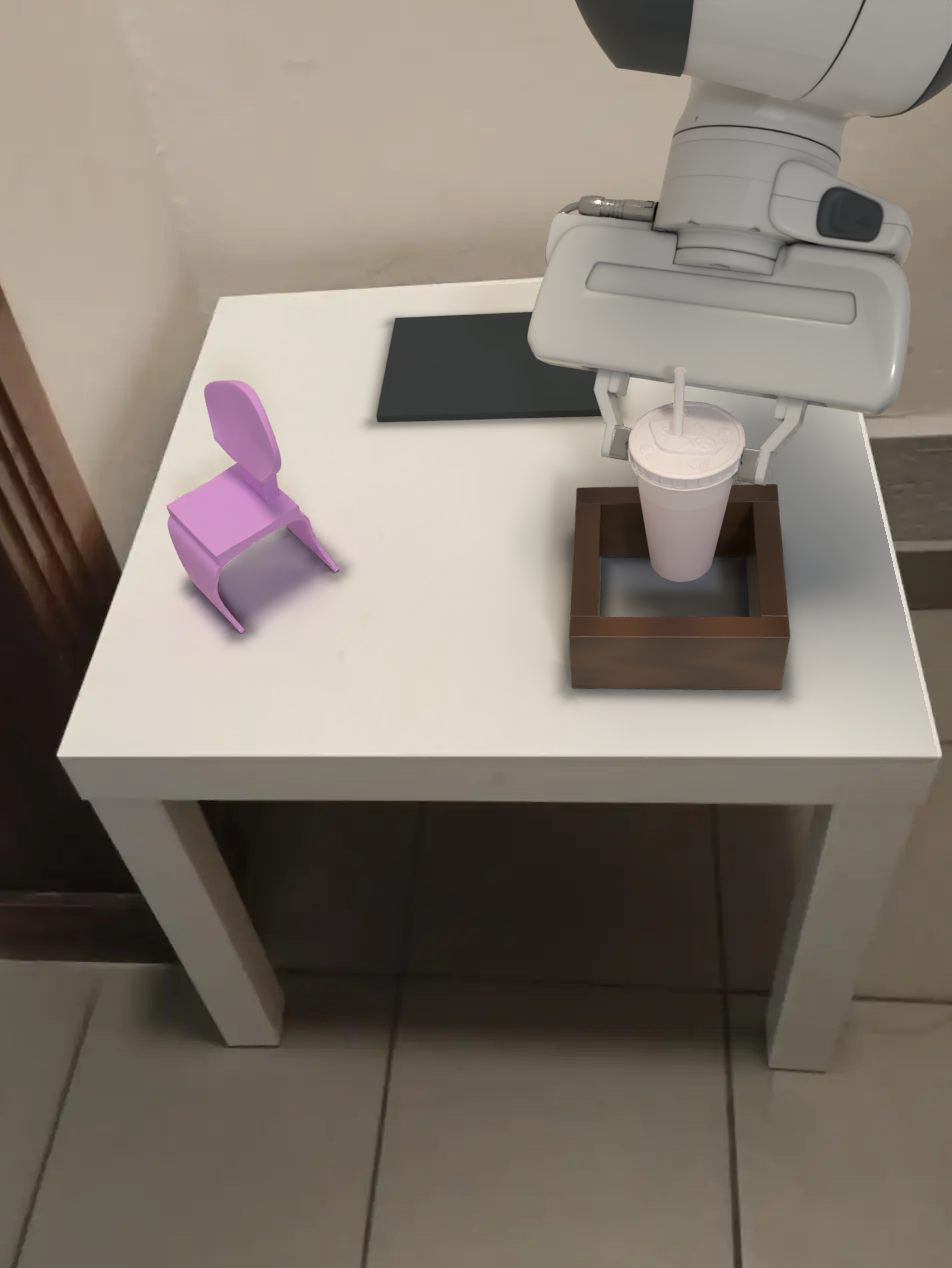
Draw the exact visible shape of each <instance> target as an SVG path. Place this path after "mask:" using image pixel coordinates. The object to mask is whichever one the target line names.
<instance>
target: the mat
mask: <svg viewBox="0 0 952 1268" xmlns="http://www.w3.org/2000/svg"><path fill="white" fill-rule="evenodd" d="M532 313H533V311H517V312H515V311H513V312H496V313H495V312H493V313H471V314H449V315H428V316H427V315H426V316H406V317H405V316H404V317H394V321H393V327H392V333H391V338H390V343H389V348H388V354H387V358H386V364H385V369H384V375H383V380H382V385H381V390H380V393H379V394H380V395H379V400H378V405H377V411H376V416H375V417H376V421H377V422H378V423H379V422H413V421H414V422H415V421H445V420H452V421H453V420H478V419H479V420H483V419H485V420H486V419H515V418H516V419H517V418H550V417H553V418H555V417H583V416H585V417H586V416H602V414H601V411H600V408H599V405H598V402H597V398H596V395H595V392H594V386H595V381H596V376H597V372H594V371H587V370H581V369H574V368H568V367H561V366H555V365H550V364H547V363H545V362H543V361H541V360H539V359H537V358H536V357H535V355H534V353H533V352H532V350H531V348H530V345H529V343H528V339H527V336H528V330H529V325H530V321H531V317H532Z"/></svg>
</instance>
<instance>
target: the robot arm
mask: <svg viewBox="0 0 952 1268" xmlns="http://www.w3.org/2000/svg"><path fill="white" fill-rule="evenodd" d="M574 2H575V4H576V7H577V9H578V10H579V13H580V15H581V18H582V19H583V21H584V23H585V25H586V27H587V28H588V30H589V32H590V33H591V35H592V37H593V38H594V40H595V41H596V43H597V44H598V46H599V48H600V49H601V50H602V51H603V53H604V55H606V57H607V58H608V60H609V61H610V62H611V63H612V65H613V66H614V67H615V68H616V69H620V70H626V71H627V70H629V71H635V72H642V73H649V74H658V75H663V76H669V77H677V78H681V76H682V75H685V76H689V77H690V86H689V87H690V88H689V93H688V97H687V101H686V104H685V106H684V109H683V111H682V113H681V115H680V117H679V119H678V121H677V122H676V125H675V127H674V130H673V134H672V138H671V142H670V146H669V152H668V156H667V161H666V165H665V170H664V175H663V180H662V184H661V189H660V194H659V199H658V201H654V200H644V199H643V200H641V199H632V198H631V199H630V198H627V199H625V198H623V199H615V198H613V199H612V198H606V196H601V195H594V194H593V195H592V194H591V195H582V196H581V197H580V198H579V200H578V201H575V202H572V203H569V204H567V205H566V206H564V207H563V208H561V209H560V210H559V211H558V212H557V213H556V214H555V215H554V216H553V218H552V220H551V222H550V226H549V230H548V235H547V240H546V245H545V250H544V251H545V252H544V259H545V260H544V261H545V264H546V269H545V272H544V275H543V277H542V281H541V283H540V287H539V289H538V293H537V296H536V299H535V303H534V306H533V310H532V312H533V313H532V317H531V321H530V325H529V330H528V336H527V339H528V343H529V345H530V348H531V350H532V352H533V353H534V355H535V357H536V358H537V359H539V360H541V361H543V362H545V363H547V364H550V365H555V366H561V367H568V368H574V369H581V370H587V371H594V372H597V376H596V381H595V386H594V392H595V395H596V398H597V402H598V405H599V408H600V411H601V414H602V415H601V417H602V420H603V424H605V429H604V434H603V439H602V444H601V449H600V456H601V457H602V458H603V457H604V458H606V459H607V458H608V459H614V460H618V461H625V462H629V460H628V447H629V435H630V432H631V430H632V428H631V427H625V423H624V420H623V417H622V414H621V410H620V406H619V403H618V399H617V396H618V397H622V398H623V397H625V396H627V393H628V392H627V391H628V388H629V384H630V379H631V378H634V379H640V380H645V381H653V382H658V383H659V382H660V383H666V384H671V385H674V379H675V369H677V368H680V367H681V368H684V369H685V370H686V372H685V387H691V388H692V387H693V388H698V389H705V390H711V391H718V392H723V393H724V392H725V393H731V394H736V395H743V396H744V395H745V396H749V397H756V398H763V399H769V400H775V401H776V403H775V405H774V409H773V415H772V417H773V418H774V419H775V420H776V421H777V422H779V423H780V424H779V425H778V426H777V427H776V428H775V429H774V431H773V432H772V433H771V434H770V436H768V438H766V440H765V441H764V442H763V443H762V444H761V446H759V448H758V449H756V448H751V447H750V448H749V447H745V448H743V452H742V456H741V461H742V465H741V466H740V467H739V469H738V471H737V474H736V481H738V482H742V483H747V484H757V485H763V486H766V484H768V480H769V477H770V474H771V470H772V465H773V460H774V456H775V454H776V455H777V454H778V453H779V452H780V451H781V450H782V449H783V448H784V447H785V445H786V444H788V443H789V441H790V440H792V438H793V437H794V436H795V435H796V433H797V432H798V431H799V430H800V429H802V427H803V425H804V420H805V417H806V413H807V412H806V411H807V408H808V406H815V407H820V408H827V409H833V410H834V409H835V410H840V411H846V412H847V411H848V412H853V413H859V414H865V415H866V414H867V415H871V416H872V415H874V416H877V415H881V414H883V413H884V412H886V411H887V410H888V409H890V408H891V407H892V406H894V405H895V404H896V402H897V401H898V400H899V396H900V390H901V387H902V383H903V377H904V374H905V368H906V360H907V354H908V347H909V339H910V338H909V337H910V325H911V309H912V308H911V307H912V306H911V304H912V303H911V302H912V301H911V294H910V293H911V292H910V288H909V282H908V278H907V276H906V274H905V271H904V269H903V268H902V267H903V265H904V264H905V262H906V261H907V259H908V256H909V253H910V251H911V248H912V247H911V246H912V243H913V236H914V235H913V233H914V231H913V225H912V221H911V218H910V217H909V215H908V213H907V212H906V210H905V208H903V207H902V206H900V205H899V204H897V203H896V202H894V201H892V200H889V199H887V198H884V197H882V196H880V195H877V194H875V193H873V192H871V191H869V190H866V189H864V188H862V187H860V186H857V185H856V184H853V183H850V182H849V181H846V180H844V179H842V178H840V177H838V174H839V169H840V165H841V161H842V141H843V140H842V139H843V138H842V137H843V133H844V129H845V126H846V125H847V123H848V122H849V121H850V120H851V119H852V118H856V117H861V116H866V117H870V118H875V119H884V118H885V119H886V118H891V117H897V116H900V115H903V114H905V113H908V112H910V111H912V110H915V109H916V108H918V107H920V106H921V105H923V104H925V103H927V102H928V101H929V100H931V99H933V98H934V97H936V96H938V94H940V93H941V92H943V91H944V90H945V89H947V88H948V87H949V86H950V85H952V0H574ZM575 211H578V214H574V213H572V212H575Z"/></svg>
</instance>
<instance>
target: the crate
mask: <svg viewBox="0 0 952 1268" xmlns="http://www.w3.org/2000/svg"><path fill="white" fill-rule="evenodd" d="M575 491H576V494H575V511H574V530H573V531H574V532H573V550H572V551H573V553H572V567H571V568H572V570H571V571H572V572H571V590H570V607H569V608H570V611H569V629H568V630H569V631H568V645H569V646H568V647H569V665H570V685H571V688H572V689H650V690H651V689H655V690H656V689H657V690H658V689H660V690H664V689H665V690H667V689H668V690H669V689H671V690H672V689H673V690H757V691H758V690H765V691H766V690H769V691H771V690H772V691H773V690H775V691H776V690H777V691H779V690H781V689H782V687H783V686H782V685H783V680H784V674H785V669H786V662H787V657H788V652H789V646H790V641H791V631H790V621H789V619H790V618H789V608H788V607H789V606H788V595H787V584H786V583H787V582H786V571H785V560H784V559H785V558H784V547H783V535H782V533H783V532H782V523H781V512H780V511H781V510H780V499H779V498H780V497H779V485H778V483H767V484H766V486H763V485H757V484H752V483H747V484H746V483H745V484H744V483H743V484H732V486H731V490H730V494H729V498H728V502H727V506H726V510H725V514H724V518H723V522H722V525H721V529H720V533H719V537H718V541H717V545H716V549H715V553H714V557H745V563H746V580H747V581H746V582H747V583H746V584H747V598H748V614H749V616H600V615H601V588H602V585H601V584H602V558H650V554H649V548H648V542H647V536H646V530H645V524H644V518H643V512H642V506H641V500H640V494H639V488H638V485H637V486H636V485H635V486H587V487H586V486H585V487H576V490H575Z"/></svg>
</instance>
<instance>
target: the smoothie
mask: <svg viewBox="0 0 952 1268" xmlns="http://www.w3.org/2000/svg"><path fill="white" fill-rule="evenodd" d="M685 372H686V370H685V369H684V368H681V367H680V368H677V369H675V379H674V384H673V402H671V403H667V404H663V405H660V406H657V407H655V408H653V409H651V410H650V411H648V412H646V413H645V414H643V415H642V416H641V417H639V419H638V420H637V421H636V422H635V423H634V424H633V426H632V428H631V429H632V430H631V432H630V435H629V447H628V460H629V461H628V463H629V464H630V466H631V469H632V470H633V471H632V472H634V473H635V476H636V482H637V486H638V488H639V494H640V500H641V506H642V512H643V518H644V524H645V530H646V536H647V542H648V548H649V554H650V557H649V559H650V560H649V561H650V565H651V567H652V569H653V571H654V572H655V573H656V574H657V575H658V576H660V577H661V578H663V579H665V580H667V581H668V580H669V581H672V582H675V583H676V582H678V583H685V582H692V581H695V580H697V579H700V578H701V577H703V576H704V575H705V574H707V572H708V571H709V570H710V569H711V567H712V564H713V561H714V557H715V556H714V553H715V549H716V545H717V541H718V537H719V533H720V529H721V525H722V522H723V518H724V514H725V510H726V506H727V502H728V498H729V494H730V490H731V486H732V485H733V484H734V478H735V475H736V473H738V469H739V467H740V466H741V465H742V461H741V456H742V452H743V448H746V433H745V429H744V427H743V425H742V423H741V422H740V420H739V419H738V418H737V417H736V416H735V415H734V414H732V413H731V412H729V411H728V410H726V409H724V408H722V407H720V406H718V405H715V404H711V403H709V402H703V401H696V400H695V401H694V400H693V401H692V400H689V401H685V398H686V397H685V395H686V394H685V393H686V392H685V390H686V386H685Z"/></svg>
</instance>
